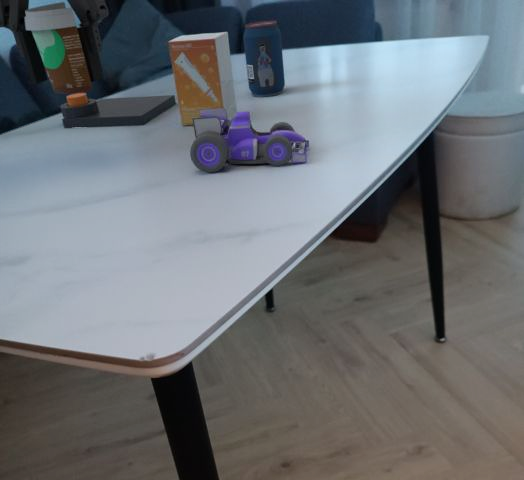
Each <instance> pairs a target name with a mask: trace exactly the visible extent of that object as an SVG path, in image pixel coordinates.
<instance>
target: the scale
mask: <svg viewBox="0 0 524 480" xmlns="http://www.w3.org/2000/svg"><path fill="white" fill-rule="evenodd" d="M87 99H88V103H87V104H83V105H79V106H69V105H68V102H67V101H66V102H64V103H63V104H61V105H60V106H59V108H60V112H61V114H62V118H61V121H62V124H63V125H62V126H63V128H64V129H75V128H74V127H87V128H110V127H111V128H112V127H137V126H138V127H139V126H145V125H146V124H148V123H150V122H151V121H153V120H154V119H155V118H157V117H158V116H160V115H162V114H163V113H164V112H166V111H168V110H169V109H171V108H172V107H174V106H175V105H177V102H176V97H175V94H169V95H168V94H166V95H151V96H150V95H148V96H147V95H146V96H131V97H128V96H127V97H112V98H111V97H109V98H101V99H99V100H97V99H95V98H87ZM72 127H73V128H72Z"/></svg>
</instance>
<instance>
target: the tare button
mask: <svg viewBox="0 0 524 480" xmlns="http://www.w3.org/2000/svg"><path fill="white" fill-rule="evenodd" d="M65 99H66V103H67V102H68V105H69V106H79V105H83V104H87V103H88V99H89V98H88V96H87V93H86V92H79V93H71V94H68V95H66V98H65Z"/></svg>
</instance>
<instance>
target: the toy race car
mask: <svg viewBox="0 0 524 480" xmlns="http://www.w3.org/2000/svg"><path fill="white" fill-rule="evenodd" d="M192 119H193V125H192V126H193V132H194V137H195V139H194V141H193V142H192V143H191V146H190V149H189V155H190V159H191V162H192V163H193V165H194V166H195V168H197V169H198V170H200V171H201V172H204V173H208V174H213V173H217V172H218V171H220V170H222V169H223V167H224V166H225V165H226V163H227V164H231V165H232V164H234V165H256V164H257V165H259V164H269V165H272V166H274V167H281V166H284V165H287V163H288V162H289V161H290V159H291V163H292V164H297V163H298V164H299V163H307V157H308V155H307V154H306V149H309V148H310V140H309V139H306V138H305V137H304V136H303V135H301V134H299V133H298V132H296V130H295V129H294V127H293V126H292V125H291V124H290V123H288V122H284V121H280V122H276V123H274V124H273V125H272V127H270V130H269V132H268V131H266V132H265V131H264V132H263V131H257V130H256V129H254V128H253V125H252V120H251V114H250V111H248V110H247V111H239V112H237V114H236V115H235V117H234V118H233V119H232V120H231V121H230V120H228V118H227V111H226V110H225V109H224V108H210V109H200V118H192ZM293 146H294V149H298V152H295V151H293Z"/></svg>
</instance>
